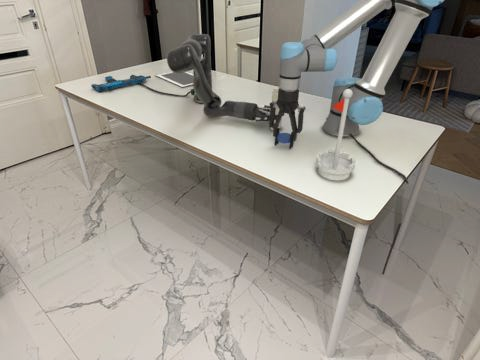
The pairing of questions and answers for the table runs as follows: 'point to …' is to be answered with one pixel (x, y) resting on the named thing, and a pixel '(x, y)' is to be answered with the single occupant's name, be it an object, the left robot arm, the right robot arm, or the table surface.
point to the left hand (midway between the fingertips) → (282, 115)
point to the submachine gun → (119, 82)
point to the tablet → (178, 78)
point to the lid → (283, 138)
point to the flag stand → (337, 149)
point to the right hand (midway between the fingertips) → (283, 145)
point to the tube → (275, 98)
